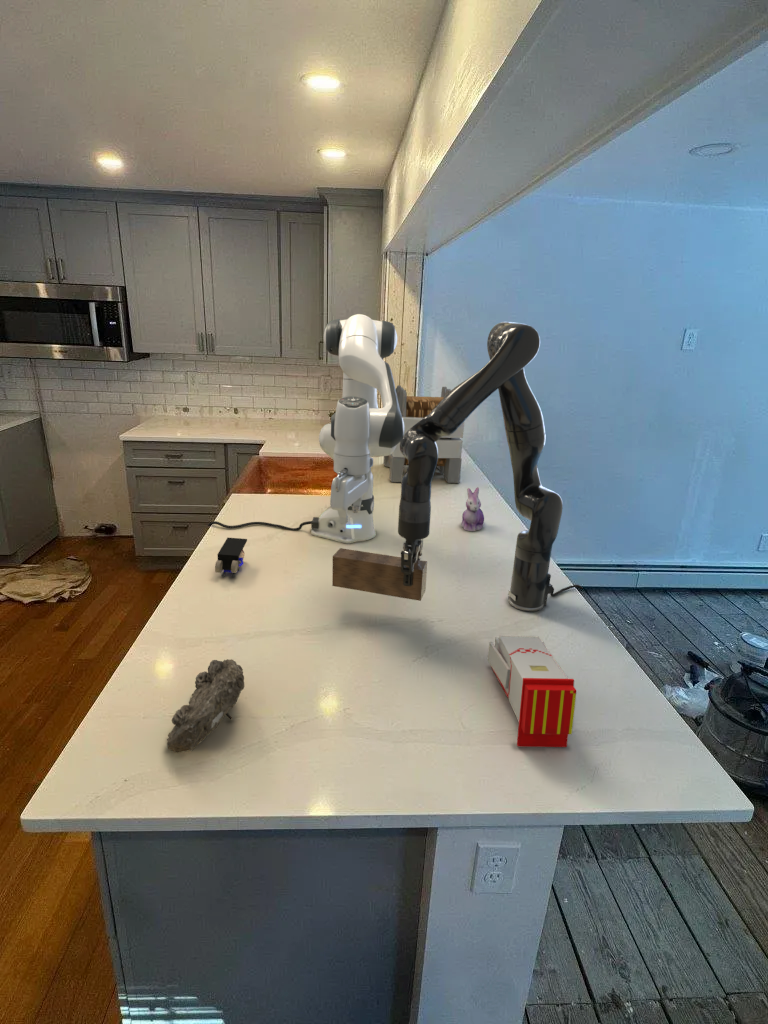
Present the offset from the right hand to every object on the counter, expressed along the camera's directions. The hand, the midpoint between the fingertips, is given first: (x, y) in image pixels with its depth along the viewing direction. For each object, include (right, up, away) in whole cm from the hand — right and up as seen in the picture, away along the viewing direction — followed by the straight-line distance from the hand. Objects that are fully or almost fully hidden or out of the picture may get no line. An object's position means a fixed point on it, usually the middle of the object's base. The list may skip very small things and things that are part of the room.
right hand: (410, 579), depth 140 cm
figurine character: (-51, 0, +28) cm, 58 cm away
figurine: (+26, +11, +69) cm, 74 cm away
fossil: (-39, -22, -32) cm, 55 cm away
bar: (-8, -3, +3) cm, 9 cm away
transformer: (+11, +36, +135) cm, 140 cm away
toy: (+22, -22, -23) cm, 39 cm away
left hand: (-15, +15, +4) cm, 22 cm away
